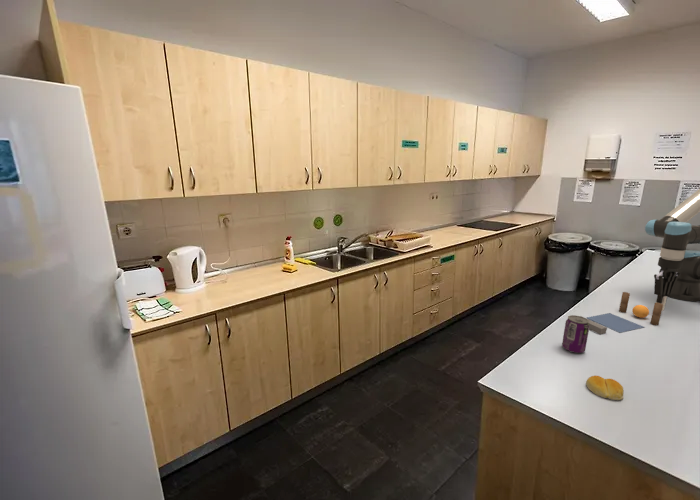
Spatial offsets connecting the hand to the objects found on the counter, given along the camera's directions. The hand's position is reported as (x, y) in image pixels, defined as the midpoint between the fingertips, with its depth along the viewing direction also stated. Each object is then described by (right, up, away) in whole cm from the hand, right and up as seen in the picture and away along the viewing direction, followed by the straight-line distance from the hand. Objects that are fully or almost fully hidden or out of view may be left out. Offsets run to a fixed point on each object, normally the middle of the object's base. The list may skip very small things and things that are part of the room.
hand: (659, 309), depth 149 cm
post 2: (-10, -4, -9) cm, 15 cm away
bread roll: (-61, -16, -49) cm, 80 cm away
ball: (-11, 0, -4) cm, 12 cm away
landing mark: (-26, -4, -7) cm, 27 cm away
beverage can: (-56, -10, -27) cm, 63 cm away
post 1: (-14, -2, +2) cm, 15 cm away
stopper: (-39, -6, -11) cm, 41 cm away
